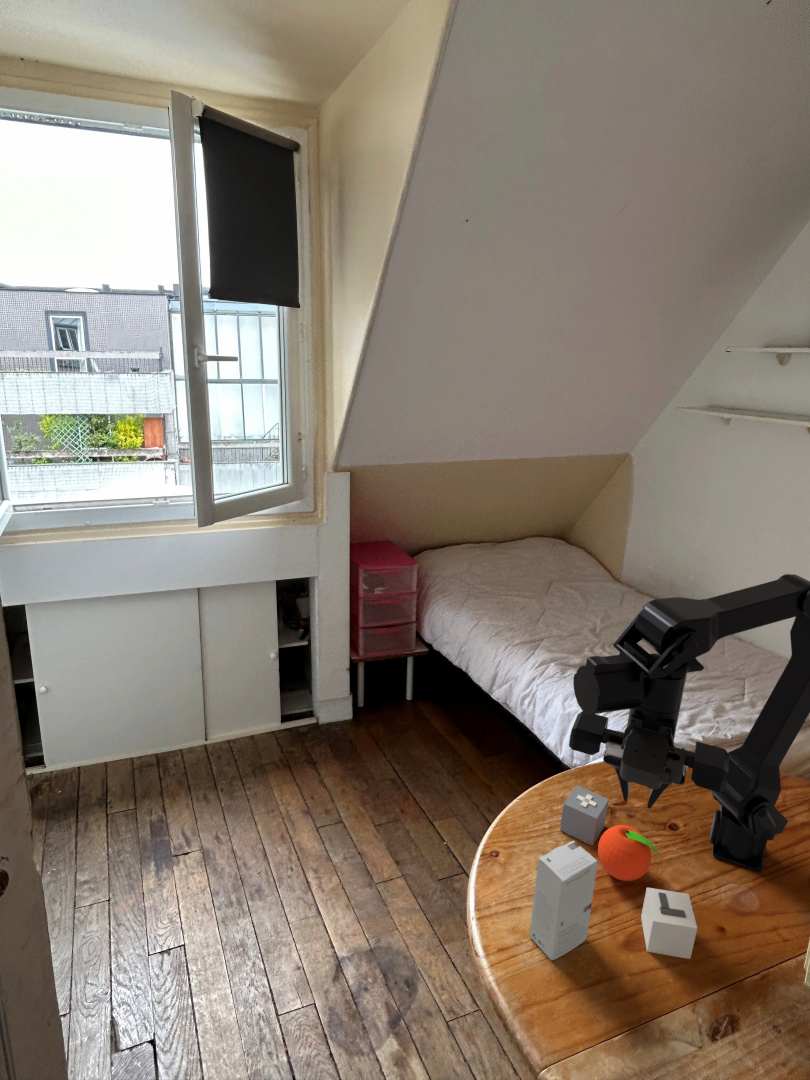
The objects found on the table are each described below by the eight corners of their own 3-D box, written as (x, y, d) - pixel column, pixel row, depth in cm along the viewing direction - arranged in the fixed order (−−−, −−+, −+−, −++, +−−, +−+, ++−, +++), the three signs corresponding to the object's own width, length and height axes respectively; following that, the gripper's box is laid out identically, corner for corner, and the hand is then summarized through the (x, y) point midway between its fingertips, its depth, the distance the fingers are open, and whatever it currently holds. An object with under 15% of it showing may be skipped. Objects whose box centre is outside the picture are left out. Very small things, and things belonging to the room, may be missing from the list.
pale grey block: (681, 924, 87) (688, 892, 85) (690, 959, 82) (697, 927, 80) (640, 917, 88) (647, 886, 86) (646, 952, 83) (653, 919, 81)
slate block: (604, 826, 103) (609, 798, 101) (592, 846, 99) (597, 817, 97) (572, 811, 105) (576, 784, 103) (559, 831, 101) (563, 802, 100)
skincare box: (552, 963, 81) (563, 884, 77) (526, 935, 84) (536, 858, 80) (588, 939, 84) (601, 862, 80) (562, 912, 88) (573, 837, 84)
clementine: (659, 867, 95) (667, 827, 93) (650, 904, 89) (659, 861, 87) (601, 846, 99) (607, 806, 96) (589, 880, 93) (596, 838, 90)
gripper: (566, 713, 81) (552, 818, 87) (737, 760, 74) (711, 872, 79) (585, 670, 91) (571, 767, 96) (738, 708, 84) (715, 811, 89)
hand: (637, 802), depth 90 cm, fingers open, 3 cm apart
